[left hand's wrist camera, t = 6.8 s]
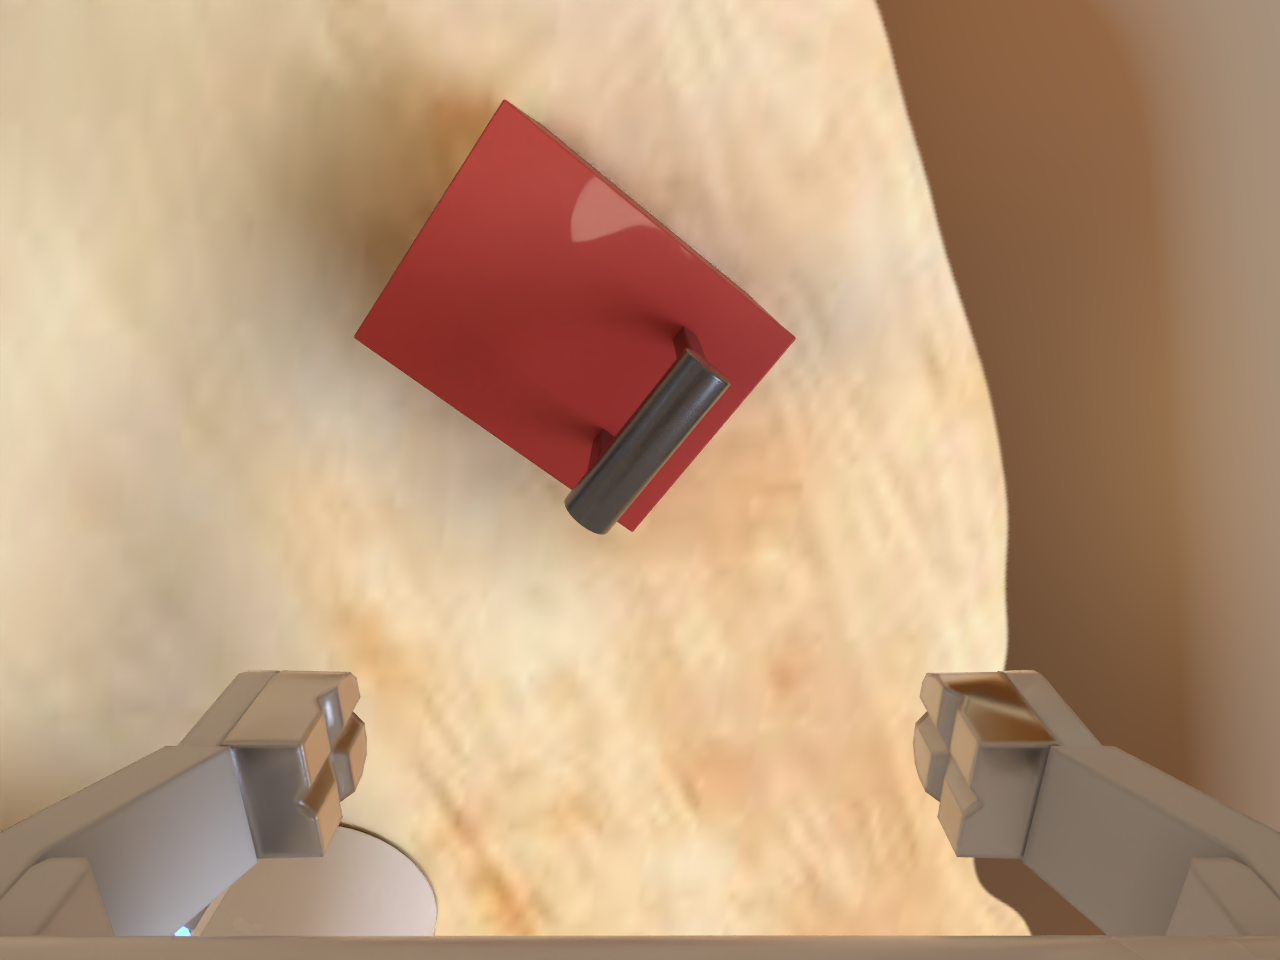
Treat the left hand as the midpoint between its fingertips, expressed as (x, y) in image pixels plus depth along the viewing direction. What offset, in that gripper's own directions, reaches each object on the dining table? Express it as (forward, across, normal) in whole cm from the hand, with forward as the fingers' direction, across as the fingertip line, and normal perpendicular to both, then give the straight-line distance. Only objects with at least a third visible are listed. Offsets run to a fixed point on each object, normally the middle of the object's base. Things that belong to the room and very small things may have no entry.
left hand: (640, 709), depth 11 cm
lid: (+20, +2, -2) cm, 20 cm away
